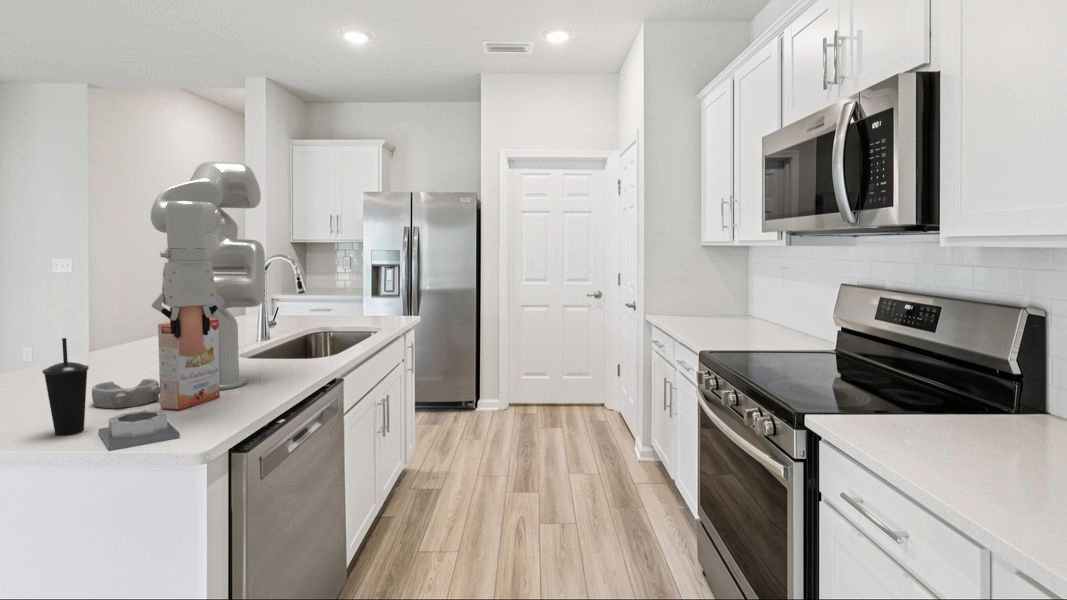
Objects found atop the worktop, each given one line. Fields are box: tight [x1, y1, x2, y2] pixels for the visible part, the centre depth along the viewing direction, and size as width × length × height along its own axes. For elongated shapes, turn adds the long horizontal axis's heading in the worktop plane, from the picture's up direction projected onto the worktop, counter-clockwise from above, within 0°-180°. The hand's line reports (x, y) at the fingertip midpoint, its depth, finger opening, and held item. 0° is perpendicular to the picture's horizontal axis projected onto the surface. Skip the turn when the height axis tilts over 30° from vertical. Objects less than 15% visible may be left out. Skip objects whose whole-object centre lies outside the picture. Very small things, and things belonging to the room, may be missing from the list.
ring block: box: [97, 409, 181, 451], centre depth 125 cm, size 14×12×4 cm
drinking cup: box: [42, 337, 90, 437], centre depth 126 cm, size 8×8×20 cm
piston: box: [177, 306, 204, 356], centre depth 138 cm, size 5×5×13 cm
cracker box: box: [157, 318, 221, 411], centre depth 151 cm, size 14×6×21 cm, turn 168°
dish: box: [91, 378, 160, 409], centre depth 151 cm, size 14×14×5 cm
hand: (190, 334), depth 138 cm, fingers closed on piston, 5 cm apart
